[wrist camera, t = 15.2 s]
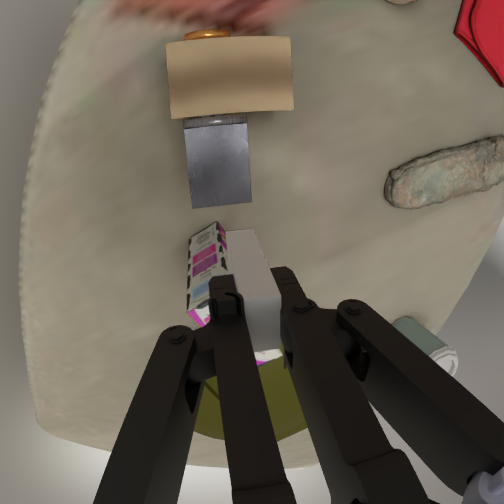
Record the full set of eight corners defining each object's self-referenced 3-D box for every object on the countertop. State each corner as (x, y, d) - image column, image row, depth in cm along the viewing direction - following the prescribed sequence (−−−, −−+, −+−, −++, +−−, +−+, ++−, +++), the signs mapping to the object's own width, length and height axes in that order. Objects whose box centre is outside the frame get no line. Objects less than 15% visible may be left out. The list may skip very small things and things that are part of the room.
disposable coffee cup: (368, 337, 58) (404, 392, 44) (407, 297, 55) (451, 347, 42) (394, 353, 62) (427, 402, 48) (429, 318, 59) (468, 363, 46)
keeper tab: (183, 120, 29) (183, 120, 28) (244, 114, 29) (246, 114, 28) (192, 206, 32) (192, 208, 32) (250, 199, 33) (252, 202, 32)
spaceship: (353, 382, 64) (369, 415, 55) (237, 439, 68) (243, 472, 59) (278, 275, 48) (296, 314, 40) (130, 363, 52) (123, 405, 43)
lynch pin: (184, 41, 31) (182, 31, 27) (227, 37, 32) (232, 27, 27) (192, 142, 37) (191, 148, 33) (234, 138, 38) (239, 143, 33)
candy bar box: (186, 239, 43) (183, 312, 28) (217, 219, 42) (229, 285, 28) (230, 295, 48) (246, 376, 33) (258, 278, 47) (285, 356, 33)
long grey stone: (373, 156, 43) (380, 214, 49) (391, 166, 39) (396, 229, 44) (513, 126, 42) (513, 172, 47) (532, 133, 38) (530, 181, 43)
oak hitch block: (172, 55, 32) (165, 43, 25) (272, 48, 33) (289, 36, 26) (176, 116, 36) (171, 119, 28) (275, 108, 37) (293, 109, 30)
